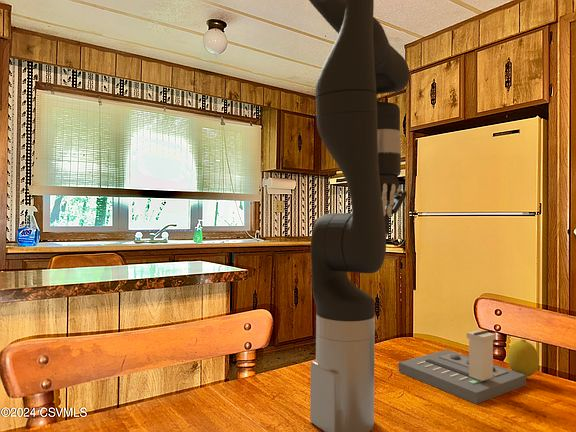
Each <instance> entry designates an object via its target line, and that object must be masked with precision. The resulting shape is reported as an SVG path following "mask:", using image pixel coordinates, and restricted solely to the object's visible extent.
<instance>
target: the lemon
mask: <svg viewBox="0 0 576 432" xmlns="http://www.w3.org/2000/svg"><path fill="white" fill-rule="evenodd" d="M539 360H540V358H539V354H538V351H537V349H536V348H535V346H534V345H533V344H532V343H530V342H529V341H527V340H526V339H524V338H521V339H519V340H516V341H514V342H513V343H511V345H510V346H509V348H508V353H507V362H508V366H509V368H510V370H512V371H516V372H519V373H522V374H525V375H526V378H527V377H531V376H533V375H534V374H536V372H537V371H538V369H539V365H540V361H539Z"/></svg>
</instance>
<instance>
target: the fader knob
mask: <svg viewBox="0 0 576 432" xmlns="http://www.w3.org/2000/svg"><path fill="white" fill-rule="evenodd" d="M496 336H497V335H496V334H495V333H492V332H489V330H488V329H485V330H480V329H477V330H473V331H468V332H466V339H468V341H469V342H468V357H469V376H470V377H473V378H476V379H478V380H481V381H484V380H487V379H490V378H493V364H494V341H495V340H496Z"/></svg>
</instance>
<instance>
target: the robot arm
mask: <svg viewBox="0 0 576 432" xmlns="http://www.w3.org/2000/svg"><path fill="white" fill-rule="evenodd" d="M308 1H309V2H310V3H311V5H312V6H313V7H314V8H315V10H316V11H317V12H318V13H319V14H320V15H321V17H323V18H324V20H325V21H326V22H327V23H328V24H329V25H330V26H331V27H332V29H333V30H335V32H336V33H337V34H338V35H337V37H336V39H335V41H334V43H333V46H332V48H331V50H330V51H329V53H328V55H327V57H326V59H325V61H324V63H323V64H322V65H323V66H322V68H321V70H320V73H319V75H318V77H317V80H316V84H315V90H314V92H315V111H316V112H315V114H316V127H317V132H318V134H319V137H320V140H321V141H322V143H323V145H324V146H325V148H326V149H327V151H328V153H329V154H330V156H331V157H332V159H333V160H334V162H335V164H336V165H337V166H338V168H339V170H340V172H341V173H342V174H343V177H344V179H345V181H346V184H347V187H348V191H349V195H350V204H351V212H343V213H342V212H341V213H339V212H337V213H336V212H333V213H325V214H322V215H320V216H319V217H318V218H317V220H316V221H315V223H314V225H313V228H312V231H311V237H310V263H311V285H312V287H311V289H312V296H313V299H314V302H315V308H316V309H315V313H316V315H315V317H316V318H315V319H316V320H315V325H316V326H315V361H312V362H310V390H309V391H310V393H309V394H310V399H309V400H310V402H309V403H310V405H309V408H310V410H309V411H310V413H309V415H310V417H309V418H310V420H309V421H310V423H311V424H314V426H316V427H317V428H319V429H320V430H322V431H323V432H371V431H372V430H373V429H374V427H375V348H376V347H375V344H376V343H375V342H376V341H375V334H376V333H375V329H376V328H375V327H376V326H375V325H376V316H375V315H376V305H375V304H376V303H375V299H374V297H372V296H371V294H369V293H367V292H366V291H364V290H362V289H360V288H359V287H357V286H356V285H355V284H354V283H353V282H352V281H351V280H350V278H349V276H348V273H355V274H357V273H358V274H375V273H376V272H379V270H380V269H382V268H381V267H382V266H383V264H384V262H385V257H386V252H387V251H386V250H387V235H388V234H389V231H390V217H391V216H392V215H393V214H397V213H398V211H399V210H400V208H401V206H402V204H403V202H404V200H406V197H407V195H408V193H407V191H406V190H402V189H401V188H400V183H399V179H398V176H400V175H401V173H402V140H401V109H400V107H399V105H398V104H396V103H393V102H388V101H381V100H378V95H383V94H391V93H397V92H401V91H403V90H404V89H405V88H406V87H407V86H408V84H409V81H410V75H411V74H410V73H411V72H410V68H409V66H408V63H407V61H406V59H405V58H404V57H403V56H402V55H401V53H399V52H398V51H397V50H396V49H395V48H394V47H393V46H392V45H391V44H390V41H389V39H388V38H387V34H386V31H385V29H384V27H383V26H382V24H381V23H380V22H379V21H378V20H377V18H375V17H374V8H375V7H374V5H375V4H374V2H375V1H374V0H308Z"/></svg>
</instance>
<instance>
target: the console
mask: <svg viewBox="0 0 576 432" xmlns="http://www.w3.org/2000/svg"><path fill="white" fill-rule="evenodd" d="M398 373H401V374H403V375H406V376H408V377H409V378H412V379H416V380H417V381H419V382H423V383H425V384H427V385H429V386H431V387H435V388H436V389H439V390H441V391H444V392H446V393H448V394H450V395H452V396H453V395H454V396H455V397H458V398H460V399H463V400H465V401H468V402H470V403H472V404H475V405H478V404H481V403H483V402H485V401H488V400H491V399H493V398H497V397H499V396H501V395H504V394H507V393H509V392H511V391H514V390H517V389H519V388H521V387H524V386H526V385H527V377H526V375H525V374H522V373H519V372H516V371H512V369H508V368H505V367H502V366H499V365H496V364H494V363H493V378H490V379H487V380H484V381H481V380H478V379H476V378H473V377H470V376H469V355H465V354H462V353H459V352H455V351H452V350H449V349H445V350H441V351H437V352H433V353H430V354H425V355H422V356H418V357H417V356H416V357H413V358H410V359H406V360H403V361H399V362H398Z"/></svg>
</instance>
